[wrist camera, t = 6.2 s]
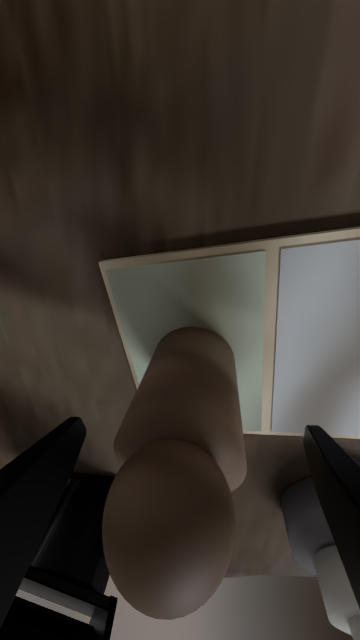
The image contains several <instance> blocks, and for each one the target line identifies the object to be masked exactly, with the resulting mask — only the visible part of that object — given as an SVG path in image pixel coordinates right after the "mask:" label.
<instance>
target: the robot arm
mask: <svg viewBox="0 0 360 640" xmlns="http://www.w3.org/2000/svg"><path fill="white" fill-rule="evenodd" d="M85 436H86V427H85V425H84V423H83V421H82V419H81V418H80V417H70V418H68V419H67V420H65V421H64V422H63V423H61V424H60V425H59V426H57V427H56V428H55V429H54V430H52V431H51V432H50V433H48V434H47V435H46V436H44V437H43V438H42V439H40V440H39V441H38V442H36V443H35V444H34V445H32V446H31V447H30V448H28V449H27V450H26V451H24V452H23V453H22V454H20V455H19V456H18V457H16V458H15V459H14V460H12V461H11V462H10V463H8V464H7V465H6V466H4V467H3V468H2V469H0V640H110V635H111V630H112V625H113V620H114V614H115V610H116V605H117V598H116V597H114V596H109V597H108V596H106V595H104V592H105V589H106V585H107V582H108V578H109V575H110V573H109V570H108V567H107V564H106V560H105V555H104V551H103V541H102V522H103V513H104V507H105V503H106V499H107V496H108V493H109V490H110V487H111V485H112V482H113V480H114V478H106V477H96V476H86V475H76V474H72V472H73V469H74V467H75V464H76V461H77V458H78V456H79V453H80V450H81V447H82V445H83V442H84V439H85ZM303 443H304V448H305V452H306V456H307V459H308V463H309V467H310V470H311V474H312V478H313V482H314V485H315V489H316V492H317V496H318V499H319V502H320V505H321V507H322V510H323V513H324V515H325V518H326V521H327V523H328V526H329V529H330V531H331V534H332V537H333V539H334V542H335V545H336V547H337V550H338V553H339V555H340V558H341V561H342V563H343V566H344V569H345V571H346V574H347V577H348V579H349V582H350V585H351V587H352V590H353V593H354V595H355V598H356V601H357V603H358V606H359V609H360V465H359V464H358V463H357V462H356V461H355V460H354V459H353V458H352V457H351V456H350V455H349V454H348V453H347V452H346V451H345V450H344V449H343V448H342V447H341V446H340V445H339V444H338V443H337V442H336V441H335V440H334V439H333V438H332V437H331V436H330V435H329V434H328V433H327V432H326V431H325V430H324V429H323V428H321V427H320V426H319V425H306V426H305V431H304V438H303ZM18 589H20V590H23V591H26V592H28V593H31V594H33V595H36V596H39V597H41V598H44V599H46V600H49V601H51V602H54V603H56V604H59V605H61V606H64V607H66V608H69V609H72V610H74V611H77V612H79V613H82V614H84V615H87V616H89V617H91V620H90V622H89V624H87V623H84V622H81V621H79V620H76V619H73V618H71V617H68V616H66V615H63V614H61V613H58V612H56V611H53V610H51V609H48V608H45V607H43V606H40V605H38V604H35V603H33V602H30V601H27V600H25V599H22V598H20V597H17V596H15V595H16V593H17V591H18Z"/></svg>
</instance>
